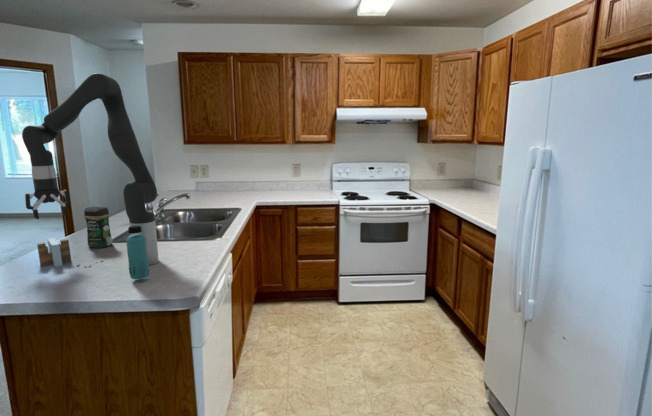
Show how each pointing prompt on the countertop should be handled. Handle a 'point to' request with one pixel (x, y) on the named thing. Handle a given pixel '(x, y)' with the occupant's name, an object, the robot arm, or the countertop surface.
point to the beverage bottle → (137, 254)
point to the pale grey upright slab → (55, 251)
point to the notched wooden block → (46, 256)
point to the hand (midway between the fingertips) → (50, 217)
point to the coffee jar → (98, 227)
